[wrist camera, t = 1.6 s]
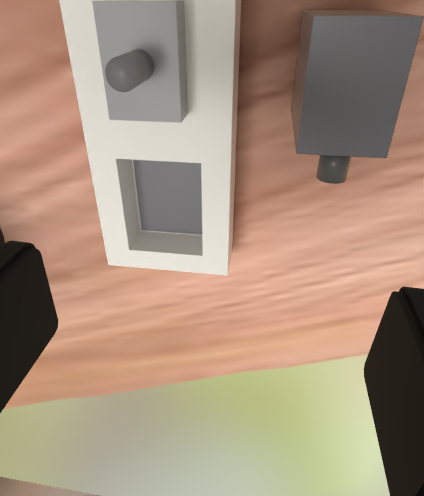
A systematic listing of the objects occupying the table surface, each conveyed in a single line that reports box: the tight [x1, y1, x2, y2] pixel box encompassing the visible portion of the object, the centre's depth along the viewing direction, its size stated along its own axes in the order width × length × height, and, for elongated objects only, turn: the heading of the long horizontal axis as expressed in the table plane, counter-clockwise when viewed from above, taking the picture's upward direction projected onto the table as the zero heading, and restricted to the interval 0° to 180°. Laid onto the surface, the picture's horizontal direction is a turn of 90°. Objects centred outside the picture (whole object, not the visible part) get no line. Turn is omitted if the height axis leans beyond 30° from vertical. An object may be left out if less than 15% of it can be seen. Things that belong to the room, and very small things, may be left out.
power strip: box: [59, 0, 241, 275], centre depth 25 cm, size 20×10×9 cm, turn 0°
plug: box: [291, 10, 424, 184], centre depth 22 cm, size 8×4×9 cm, turn 0°
